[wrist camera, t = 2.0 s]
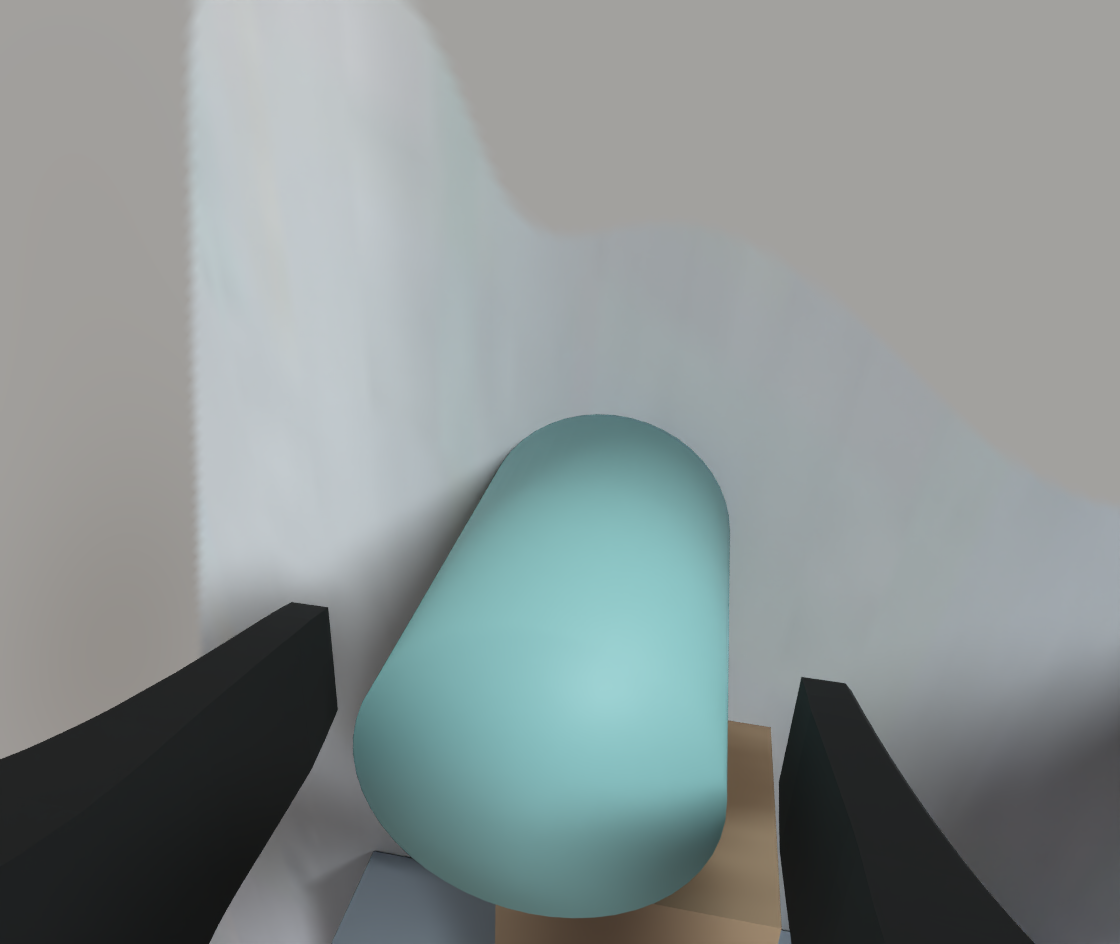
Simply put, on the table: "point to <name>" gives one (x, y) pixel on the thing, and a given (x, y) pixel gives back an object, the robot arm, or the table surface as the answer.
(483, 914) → the tote
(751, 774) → the cube
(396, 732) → the teal cylinder
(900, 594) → the table surface
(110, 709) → the robot arm
